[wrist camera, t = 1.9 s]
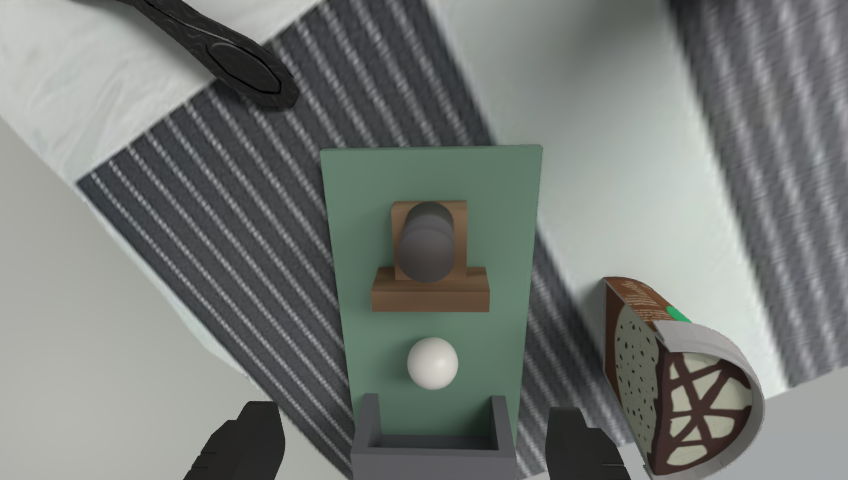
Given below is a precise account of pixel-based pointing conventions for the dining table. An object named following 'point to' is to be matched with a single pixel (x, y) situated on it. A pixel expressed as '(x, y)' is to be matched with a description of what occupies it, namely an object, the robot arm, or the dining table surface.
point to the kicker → (430, 262)
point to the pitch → (465, 331)
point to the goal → (432, 450)
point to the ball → (432, 363)
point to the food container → (677, 384)
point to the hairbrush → (224, 52)
